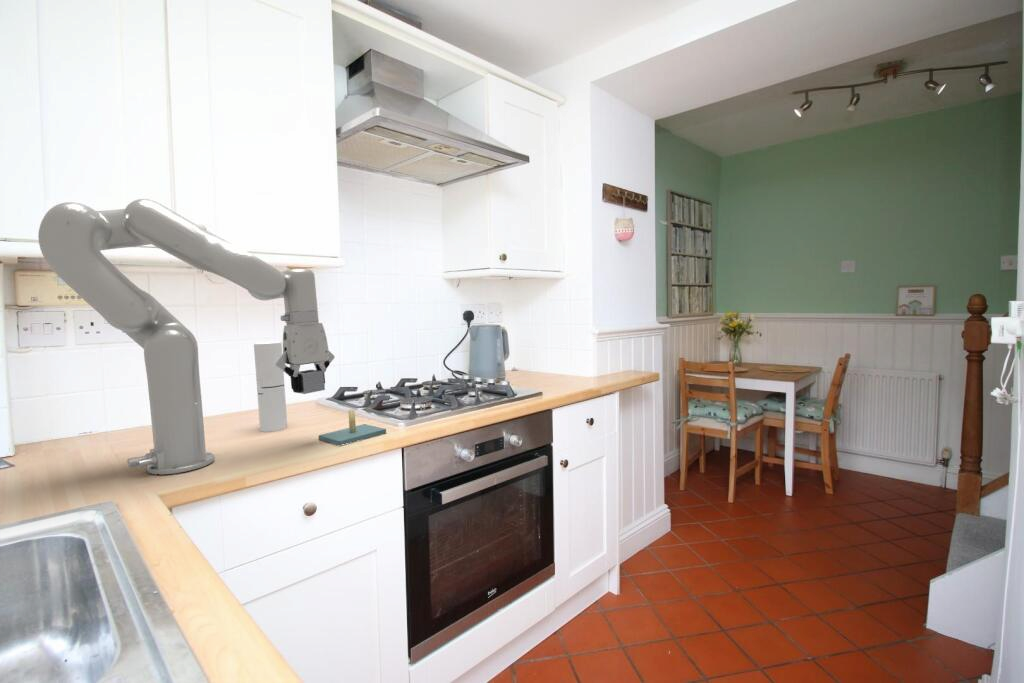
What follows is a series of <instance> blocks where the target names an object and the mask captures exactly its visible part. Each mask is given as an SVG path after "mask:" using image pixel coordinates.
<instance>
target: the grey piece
mask: <svg viewBox="0 0 1024 683" xmlns="http://www.w3.org/2000/svg"><path fill="white" fill-rule="evenodd" d="M253 352H254V364H255V365H254V366H255V367H254V368H255V377H256V378H255V379H256V392H257V405H258V417H259V418H258V419H259V431H260V432H262V431H263V432H264V433H270V432H277V431H282V430H286V429H287V428H288V414H287V404H286V388H285V386H286V384H285V374H284V373H285V372H284V371H283V370H281V369H280V368H278V367H277V366H276V363H277V361H278V360H279V359H280V357H281V356H282V354H283V341H282V342H281V341H265V342H264V341H263V342H256V343H255V342H254V343H253Z"/></svg>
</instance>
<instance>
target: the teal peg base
mask: <svg viewBox="0 0 1024 683" xmlns="http://www.w3.org/2000/svg"><path fill="white" fill-rule="evenodd" d="M355 411H356V410H355V409H354V408H353V409H351V408H350V409H348V410H347V412H348V413H347V414H348V427H347V428H342V429H339V430H334V431H330V432H328V433H321V434H319V435H318V440H319V441H321V442H324V441H325V443H328V442H329V444H331V443H332V445H335V444H336V445H335V446H338V445H342V444H345V445H347V444H346V443H349V444H351V443H350V442H353V441H356V442H358V441H357V440H360V441H362V440H361V439H364V440H367V439H370V437H371V438H374V437H377V436H378V437H379V436H382V435H385V434H387V428H383V427H378V426H374V425H371V424H365V423H363V424H359V425H356V412H355ZM381 434H382V435H381ZM373 436H374V437H373ZM366 438H367V439H366ZM353 443H354V442H353ZM342 446H343V445H342Z"/></svg>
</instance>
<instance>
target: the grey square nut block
mask: <svg viewBox="0 0 1024 683" xmlns="http://www.w3.org/2000/svg"><path fill="white" fill-rule="evenodd" d="M324 374H325V373H324ZM324 374H323V371H322V370H316V369H306V370H301V371H300V370H299V373H298V376H300V381H301V392H300V393H298V392H294V393H295V394H303V395H306V394H311V393H317V392H322V391H326V388H325V385H326V384H325V385H324Z"/></svg>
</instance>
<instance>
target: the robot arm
mask: <svg viewBox="0 0 1024 683" xmlns="http://www.w3.org/2000/svg"><path fill="white" fill-rule="evenodd" d="M39 224H40V225H39V229H38V234H37V235H38V245H39V248H40V251H41V255H42V257H43V259H44V260H45V262H46V263H47V265H48V266H49V267H50V269H51V270H52V271H53V272H54V273H55V274H56V276H58V277H59V278H60V279H61V280H62V281H63V283H65V284H66V285H67V286H68V287H70V288H71V290H73V291H74V292H75V293H76V294H77V295H78V296H79V297H80V298H81V299H83V301H84V302H85V303H87V305H89V306H90V307H91V308H92V309H93V310H95V311H96V312H97V313H98V314H99V315H100V316H101V317H102V318H103V319H104V320H105V321H106V322H107V323H108V324H109V325H110V326H111V327H113V328H115V329H117V330H120V331H122V332H123V333H124V334H126V335H127V336H128V337H129V338H131V340H133V341H134V342H135V343H136V345H139V346H140V347H141V348H142V350H143V358H144V365H145V371H146V378H147V389H148V391H147V392H148V400H149V409H150V421H151V429H152V430H151V431H152V440H153V448H150V449H149V452H148V453H145V454H144V455H141V456H135V457H132V458H131V457H130V458H128V459H127V466H128V468H134V467H139V468H141V467H146V472H147V471H148V472H147V473H148V474H150V473H151V474H152V475H157V474H159V476H160V475H172V474H179V473H185V472H190V471H194V470H198V469H200V468H201V469H202V468H204V467H206V466H208V465H210V464H212V463H213V462H214V461H215V454H213V453H212V452H209V451H207V449H206V436H205V426H204V414H203V413H204V412H203V402H202V391H201V390H202V389H201V378H200V366H199V365H200V364H199V347H198V342H197V339H196V337H195V335H194V333H193V332H191V331H190V329H189V328H188V327H186V326H185V325H184V324H183V323H182V322H181V321H179V319H178V318H177V317H176V316H174V314H172V313H171V312H170V311H169V310H167V308H166V307H165V306H163V305H162V303H160V302H159V301H158V300H157V299H156V298H155V297H154V296H153V295H151V294H150V293H148V292H147V291H145V290H143V289H141V288H139V287H138V286H137V285H135V283H133V282H132V281H131V280H130V279H129V278H128V277H127V276H126V275H125V274H123V273H122V271H120V270H119V268H118V267H117V266H116V265H114V263H113V262H111V261H110V260H109V259H108V258H107V257H106V256H105V255H104V254H103V253H102V251H106V250H115V249H116V250H117V249H125V248H136V247H142V246H148V245H152V246H154V247H156V248H158V249H160V250H161V251H164V252H166V253H167V254H169V255H170V256H173V257H175V258H177V259H179V260H180V261H182V262H185V263H186V264H187V265H189V266H191V267H194V268H196V269H198V270H200V271H205V272H208V273H212V274H214V275H217V276H219V277H221V278H224V279H226V280H228V281H229V282H232V283H233V284H235V285H237V286H239V287H241V288H243V289H245V290H247V292H248V293H249V295H251V297H253V298H254V299H257V300H259V301H271V300H276V299H282V298H283V303H284V314H283V315H280V321H282V322H285V324H286V325H284V326H283V330H282V332H283V333H282V356H281V357H280V359H279V360H278V361H277V363H276V366H277V367H278V368H280V369H281V370H283V371H284V373H285V374H286V375H288V377H290V385H291V387H290V388H291V390H292V391H293V393H295V392H298V393H297V394H301V393H300V392H301V381H300V376H298V373H299V371H300V368H301V366H304V365H310V364H313V365H314V368H315V370H322V371H323V374H324V385H326V378H325V377H326V376H325V373H326V372H327V369H328V367H329V366H330V364H331V363H332V361H333V360H334V359H335V355H334V354H333V353H332V352H331V351H330V350H329V345H328V340H327V335H326V331H325V327H324V325H323V322H319V311H318V309H319V308H318V299H317V289H316V278H315V276H316V275H315V273H314V272H313V270H311V269H309V268H308V269H307V268H292V269H286V270H282V271H280V270H279V269H278V268H276V267H274V266H272V265H271V264H268V262H266V261H264V260H262V259H260V258H259V257H257V256H255V255H254V254H251V253H250V252H248V251H246V250H244V249H242V248H240V247H238V246H236V245H235V244H233V243H230V242H229V241H227V240H225V239H223V238H221V237H219V236H217V235H215V234H213V233H212V232H210V231H209V230H207V229H205V228H203V227H202V226H200V225H198V224H196V223H194V222H192V221H191V220H189V219H188V218H185V216H182V215H181V214H179V213H177V212H175V211H173V210H172V209H170V208H169V207H166V206H164V205H163V204H162V203H159V202H157V201H155V200H151V199H148V198H140V199H139V198H138V199H136V200H132V201H131V202H129V203H128V205H126V207H125V208H122V209H121V208H120V209H109V210H108V209H107V210H95V209H93V208H92V207H90V206H87V205H86V204H83V203H79V202H73V201H71V202H69V201H67V202H62V203H58V204H56V205H54V206H52V207H51V208H50V209H48V210H47V212H46V213H45V215H44V216H43V218H42V220H41V222H40V223H39ZM288 365H289V366H288Z"/></svg>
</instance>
